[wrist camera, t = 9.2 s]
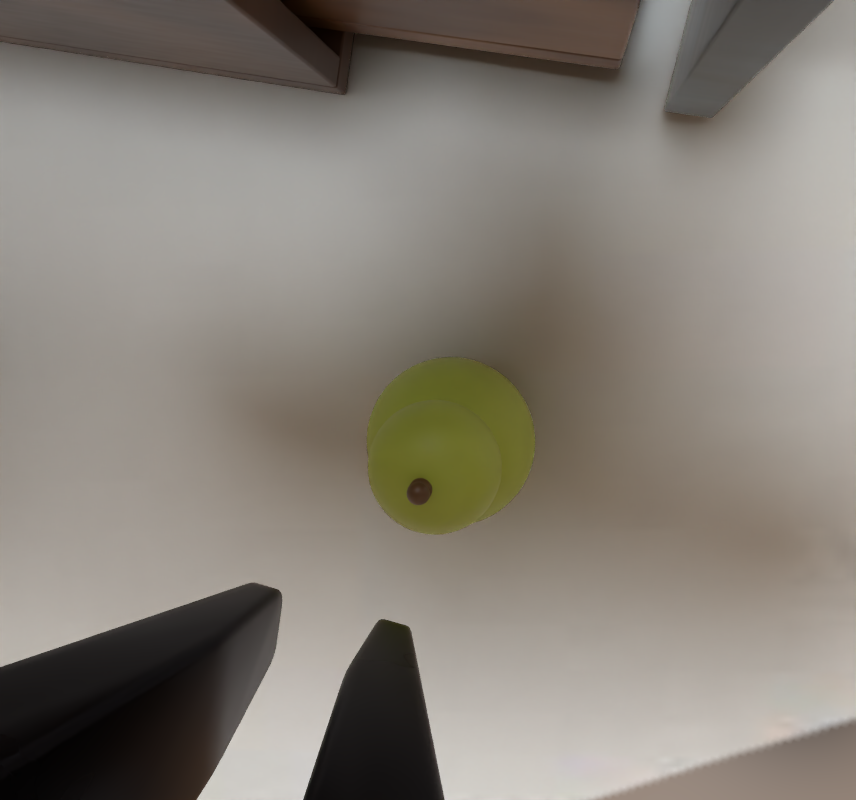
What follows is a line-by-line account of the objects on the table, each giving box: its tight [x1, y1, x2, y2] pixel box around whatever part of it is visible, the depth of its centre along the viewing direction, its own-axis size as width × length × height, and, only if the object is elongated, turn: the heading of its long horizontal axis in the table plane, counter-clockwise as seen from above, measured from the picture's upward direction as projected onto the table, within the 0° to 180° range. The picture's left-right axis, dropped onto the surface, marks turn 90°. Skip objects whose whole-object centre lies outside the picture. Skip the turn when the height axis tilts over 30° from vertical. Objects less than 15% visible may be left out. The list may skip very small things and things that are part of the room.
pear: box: [367, 357, 535, 535], centre depth 16 cm, size 5×5×7 cm
